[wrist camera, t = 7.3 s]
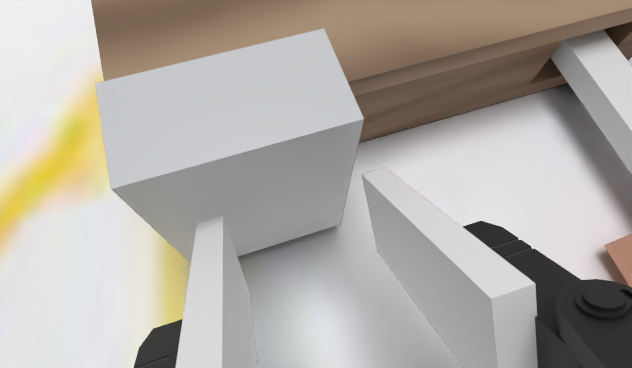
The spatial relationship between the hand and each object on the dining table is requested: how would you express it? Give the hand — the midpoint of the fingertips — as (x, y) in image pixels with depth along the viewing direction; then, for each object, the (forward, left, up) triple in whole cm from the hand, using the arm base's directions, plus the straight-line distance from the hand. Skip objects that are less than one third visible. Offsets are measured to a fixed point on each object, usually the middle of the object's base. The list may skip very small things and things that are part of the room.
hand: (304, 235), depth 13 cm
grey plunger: (-7, +3, -5) cm, 9 cm away
